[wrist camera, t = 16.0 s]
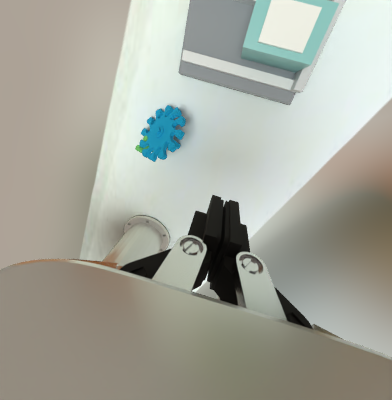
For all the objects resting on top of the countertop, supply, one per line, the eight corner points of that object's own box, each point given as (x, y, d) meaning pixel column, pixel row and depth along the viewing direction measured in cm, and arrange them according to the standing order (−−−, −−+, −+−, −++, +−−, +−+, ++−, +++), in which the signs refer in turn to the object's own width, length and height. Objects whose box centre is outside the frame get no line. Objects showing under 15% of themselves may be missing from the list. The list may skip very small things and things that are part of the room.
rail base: (287, 104, 28) (296, 105, 24) (181, 74, 29) (172, 70, 25) (335, -1, 22) (357, -23, 18) (199, -36, 23) (191, -64, 19)
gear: (178, 91, 29) (183, 143, 26) (197, 113, 34) (203, 159, 31) (133, 122, 34) (132, 168, 31) (155, 138, 39) (156, 179, 36)
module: (295, 72, 25) (312, 64, 20) (240, 58, 25) (242, 46, 20) (315, 26, 23) (341, 1, 17) (254, 10, 23) (261, -19, 17)
